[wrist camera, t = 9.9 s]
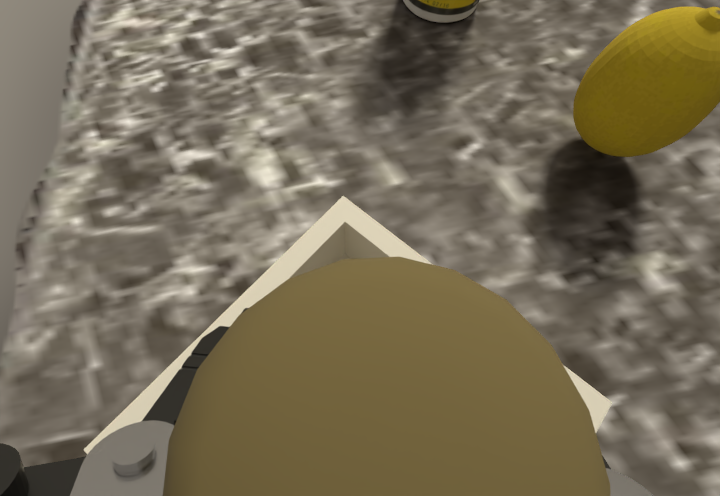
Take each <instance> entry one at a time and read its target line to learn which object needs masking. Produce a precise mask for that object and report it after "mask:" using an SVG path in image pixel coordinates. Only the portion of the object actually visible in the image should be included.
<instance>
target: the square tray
mask: <svg viewBox="0 0 720 496" xmlns="http://www.w3.org/2000/svg"><path fill="white" fill-rule="evenodd" d="M380 257H403V258H407V259H411V260H415V261H419V262H423V263H428V264H431V263H430V262H429V261H427V260H426V259H425V258H423V257H422V256H421V255H419V254H418V253H417V252H416V251H414V250H413V249H412V248H410V247H409V246H408V245H406V244H405V243H404V242H403V241H401V240H400V239H399V238H397V237H396V236H395V235H393V234H392V233H391V232H390V231H388V230H387V229H386V228H384V227H383V226H382V225H380V224H379V223H378V222H377V221H375V220H374V219H373V218H371V217H370V216H369V215H367V214H366V213H365V212H363V211H362V210H361V209H360V208H358V207H357V206H356V205H354V204H353V203H352V202H350V201H349V200H348V199H347V198H345V197H344V196H343V197H342V198H341V199H340V200H339V201H337V202H336V203H335V204H334V205H333V206H332V207H331V208H330V209H329V210H328V211H327V212H326V213H325V214H324V215H323V216H322V217H321V218H320V219H319V220H318V221H317V222H316V223H315V224H314V225H313V226H312V227H311V228H310V229H309V230H308V231H307V232H306V233H305V234H304V235H303V236H302V237H301V238H300V239H299V240H298V241H297V242H296V243H295V244H293V245H292V246H291V247H290V248H289V249H288V250H287V251H286V252H285V253H284V254H283V255H282V256H281V257H280V258H279V259H278V260H277V261H276V262H275V263H274V264H273V265H272V266H271V267H270V268H269V269H268V270H267V271H266V272H265V273H264V274H263V275H262V276H261V277H260V278H259V279H258V280H257V281H256V282H255V283H254V284H253V285H252V286H251V287H250V288H248V289H247V290H246V291H245V292H244V293H243V294H242V295H241V296H240V297H239V298H238V299H237V300H236V301H235V302H234V303H233V304H232V305H231V306H230V307H229V308H228V309H227V310H226V311H225V312H224V313H223V314H222V315H221V316H220V317H219V318H218V319H217V320H216V321H215V322H214V323H213V324H212V325H211V326H210V327H209V328H208V329H207V330H206V331H204V332H203V333H202V334H201V335H200V336H199V337H198V338H197V339H196V340H195V341H194V342H193V343H192V344H191V345H190V346H189V347H188V348H187V349H186V350H185V351H184V352H183V353H182V354H181V355H180V356H179V357H178V358H177V359H176V360H175V361H174V362H173V363H172V364H171V365H170V366H169V367H168V368H167V369H166V370H165V371H164V372H163V373H162V374H160V375H159V376H158V377H157V378H156V379H155V380H154V381H153V382H152V383H151V384H150V385H149V386H148V387H147V388H146V389H145V390H144V391H143V392H142V393H141V394H140V395H139V396H138V397H137V398H136V399H135V400H134V401H133V402H132V403H131V404H130V405H129V406H128V407H127V408H126V409H125V410H124V411H123V412H122V413H121V414H120V415H119V416H118V417H117V418H115V419H114V420H113V421H112V422H111V423H110V424H109V425H108V426H107V427H106V428H105V429H104V430H103V431H102V432H101V433H100V434H99V435H98V436H97V437H96V438H95V439H94V440H93V441H92V442H91V443H90V444H89V445H88V446H87V447H86V448H85V449H84V451H85V452H86V453H87V455H88V453H89V452H90V451H91V450H92V449H93V447H94V446H95V445H96V444H97V443H99V442H100V441H101V440H102V439H103V438H105V437H106V436H108V435H109V434H111V433H113V432H114V431H116V430H118V429H120V428H122V427H125V426H127V425H130V424H133V423H137V422H141V421H142V420H143V419H144V417H145V416H146V414H147V413H148V412H149V410H150V409H151V408H152V406H153V405H154V403H155V402H156V401H157V399H158V398H159V397H160V395H161V394H162V392H163V391H164V390H165V388H166V387H167V386H168V384H169V383H170V381H171V380H172V379H173V377H174V376H175V375H176V373H177V372H178V370H179V369H181V368H182V365H183V364H184V362H185V361H186V359H187V358H188V357H189V356H191V353H192V351H193V350H194V348H195V347H196V346H197V344H198V343H199V341H200V340H201V339H202V338H203V337H204V336H206V335H207V334H209V333H210V332H212V331H213V330H215V329H216V328H218V327H219V326H226V327H230V326H231V325H232V324H233V322H234V321H235V320H236V318H237V317H238V316H239V315H240V314H241V313H242V311H243V310H244V309H245V308H250V307H251V306H252V305H254V304H255V303H256V302H258V301H259V300H261V299H262V298H263V297H265V296H266V295H267V294H269V293H270V292H271V291H273V290H274V289H275V288H277V287H278V286H280V285H281V284H282V283H284V282H285V281H286V280H288V279H290V278H292V277H295V276H298V275H301V274H304V273H306V272H309V271H312V270H315V269H318V268H320V267H323V266H326V265H329V264H331V263H334V262H337V261H340V260H343V259H360V258H380ZM563 366H564V365H563ZM564 368H565V369H566V371H567V373H568V374H569V376H570V378H571V380H572V381H573V383H574V385H575V386H576V388H577V390H578V392H579V393H580V395H581V397H582V398H583V400H584V402H585V404H586V405H587V407H588V409H589V411H590V415H591V418H592V422H593V426H594V429H595V433H596V432H597V430H598V428H599V426H600V425H601V423H602V421H603V419H604V417H605V415H606V413H607V411H608V410H609V408H610V406H611V404H612V402H611V401H610V400H608V399H607V398H606V397H604V396H603V395H602V394H600V393H599V392H598V391H597V390H595V389H594V388H593V387H591V386H590V385H589V384H587V383H586V382H585V381H584V380H582V379H581V378H580V377H578V376H577V375H576V374H574V373H573V372H572V371H570V370H569V369H568V368H567V367H565V366H564Z"/></svg>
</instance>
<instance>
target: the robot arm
mask: <svg viewBox="0 0 720 496" xmlns="http://www.w3.org/2000/svg"><path fill="white" fill-rule="evenodd" d="M247 309H248V308H245V309H244V310H243V311H242V313H243V312H244V311H246V310H247ZM228 329H229V327H226V326H219V327H218V328H216V329H215V330H213V331H212V332H210V333H209V334H207V335H206V336H204V337H203V338H202V339H201V340H200V341H199V343H198V344H197V346H196V347H195V348H194V350H193V351H192V353H191V356H189V357H188V358H187V359H186V361H185V362H184V364H183V365H182V368H181V369H179V370H178V372H177V373H176V375H175V376H174V377H173V379H172V380H171V381H170V383H169V384H168V386H167V387H166V388H165V390H164V391H163V392H162V394H161V395H160V397H159V398H158V399H157V401H156V402H155V403H154V405H153V406H152V408H151V409H150V410H149V412H148V413H147V414H146V416H145V417H144V419H143V420H142V421H141V422H137V423H133V424H130V425H127V426H125V427H122V428H120V429H118V430H116V431H114V432H113V433H111V434H109V435H108V436H106V437H105V438H103V439H102V440H101V441H100V442H99V443H97V444H96V445H95V446H94V447H93V449H92V450H91V451H90V452H89V453H88V455H87V456H85V457H81V458H76V459H71V460H65V461H59V462H53V463H48V464H42V465H36V466H30V467H23V464H22V461H21V458H20V455H19V452H18V451H17V450H16V449H15V448H13V447H11V446H9V445H6V444H0V496H163V488H164V479H165V470H166V461H167V452H168V443H169V438H170V436H171V433H172V431H173V428H174V426H175V423H176V421H177V418H178V416H179V413H180V411H181V408H182V406H183V403H184V401H185V398H186V396H187V394H188V391H189V389H190V386H191V384H192V381H193V379H194V376H195V374H196V371H197V369H198V368H199V366H200V365H201V364H202V363H203V361H204V360H205V359H206V357H207V356H208V355H209V353H210V352H211V351H212V350H213V348H214V347H215V346H216V344H217V343H218V342H219V340H220V339H221V338H222V337H223V335H224V334H225V333H226V331H227V330H228ZM602 457H603V456H602ZM603 461H604V464H605V468H606V471H607V475H608V478H609V482H610V496H653V495H652V494H651V493H650V492H649V491H648V490H647V489H645V488H644V487H643V486H641V485H640V484H639V483H637V482H635V481H634V480H632V479H631V478H629V477H627V476H625V475H623V474H621V473H619V472H617V471H614V470H611V468H610V467H609V465H608V464H607V462H606V460H605V459H604V457H603Z"/></svg>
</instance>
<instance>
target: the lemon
mask: <svg viewBox="0 0 720 496" xmlns="http://www.w3.org/2000/svg"><path fill="white" fill-rule="evenodd" d="M719 102H720V8H718V7H711V8H707V9H704V8H699V7H676V8H671V9H666V10H662V11H659V12H656V13H653V14H651V15H649V16H647V17H645V18H643V19H641V20H639V21H637V22H635V23H634V24H632V25H631V26H629V27H628V28H627V29H626V30H624V31H623V32H622V33H621V34H619V35H618V36H617V37H616V38H615V39H614V40H613V41H612V42H611V43H610V44H609V45H608V46H607V47H606V48H605V49H604V50H603V51H602V52H601V53H600V54H599V55H598V57H597V58H596V59H595V60H594V61H593V63H592V64H591V65H590V67H589V68H588V70H587V71H586V73H585V75H584V76H583V78H582V81H581V83H580V85H579V88H578V90H577V93H576V96H575V99H574V111H573V117H574V122H575V125H576V129H577V131H578V132H579V134H580V136H581V137H582V139H583V140H584V141H585V142H586V143H587V144H588V145H589V146H591V147H592V148H594V149H595V150H597V151H599V152H601V153H604V154H608V155H612V156H620V157H632V156H638V155H644V154H648V153H651V152H654V151H656V150H659V149H661V148H663V147H665V146H667V145H670V144H672V143H673V142H675V141H677V140H679V139H680V138H682V137H683V136H685V135H686V134H687V133H689V132H690V131H691V130H692V129H693V128H695V127H696V126H697V125H698V124H699V123H700V122H701V121H702V120H703V119H704V118H705V117H706V116H707V115H708V114H709V113H710V112H711V111H712V110H713V109H714V108H715V107H716V105H717V104H718V103H719Z"/></svg>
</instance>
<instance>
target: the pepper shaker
mask: <svg viewBox="0 0 720 496" xmlns="http://www.w3.org/2000/svg"><path fill="white" fill-rule="evenodd" d="M163 496H610V482H609V478H608V475H607V471H606V468H605V464H604V461H603V457H602V454H601V450H600V447H599V443H598V440H597V436H596V433H595V429H594V426H593V422H592V418H591V415H590V411H589V409H588V407H587V405H586V404H585V402H584V400H583V398H582V397H581V395H580V393H579V392H578V390H577V388H576V386H575V385H574V383H573V381H572V380H571V378H570V376H569V374H568V373H567V371H566V369H565V368H564V366H563V364H562V362H561V361H560V359H559V357H558V356H557V354H556V352H555V350H554V349H553V347H552V345H551V344H550V343H549V342H548V341H547V340H546V339H545V338H544V337H543V336H542V335H541V334H540V333H539V332H538V331H537V330H536V329H535V328H534V327H533V326H532V325H531V324H530V323H529V322H528V321H527V320H526V319H525V318H524V317H523V316H522V315H521V314H520V313H519V312H518V311H517V310H516V309H515V308H514V307H513V306H512V305H511V304H510V303H509V302H508V301H507V300H506V299H504V298H502V297H500V296H499V295H497V294H495V293H494V292H492V291H490V290H488V289H487V288H485V287H483V286H481V285H480V284H478V283H476V282H474V281H473V280H471V279H469V278H467V277H466V276H464V275H462V274H460V273H459V272H457V271H455V270H452V269H448V268H444V267H440V266H436V265H432V264H428V263H423V262H419V261H415V260H411V259H407V258H403V257H380V258H360V259H343V260H340V261H337V262H334V263H331V264H329V265H326V266H323V267H320V268H318V269H315V270H312V271H309V272H306V273H304V274H301V275H298V276H295V277H292V278H290V279H288V280H286V281H285V282H284V283H282V284H281V285H280V286H278V287H277V288H275V289H274V290H273V291H271V292H270V293H269V294H267V295H266V296H265V297H263V298H262V299H261V300H259V301H258V302H256V303H255V304H254V305H252V306H251V307H250V308H248V309H247V310H246V311H244V312H243V313H241V314H240V315H239V316H238V317H237V318H236V320H235V321H234V322H233V324H232V325H231V326H230V327H229V329H228V330H227V331H226V333H225V334H224V335H223V337H222V338H221V339H220V340H219V342H218V343H217V344H216V346H215V347H214V348H213V350H212V351H211V352H210V353H209V355H208V356H207V357H206V359H205V360H204V361H203V363H202V364H201V365H200V366H199V368H198V369H197V371H196V374H195V376H194V379H193V381H192V384H191V386H190V389H189V391H188V394H187V396H186V398H185V401H184V403H183V406H182V408H181V411H180V413H179V416H178V418H177V421H176V423H175V426H174V428H173V431H172V433H171V436H170V438H169V443H168V452H167V461H166V470H165V479H164V488H163Z"/></svg>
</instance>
